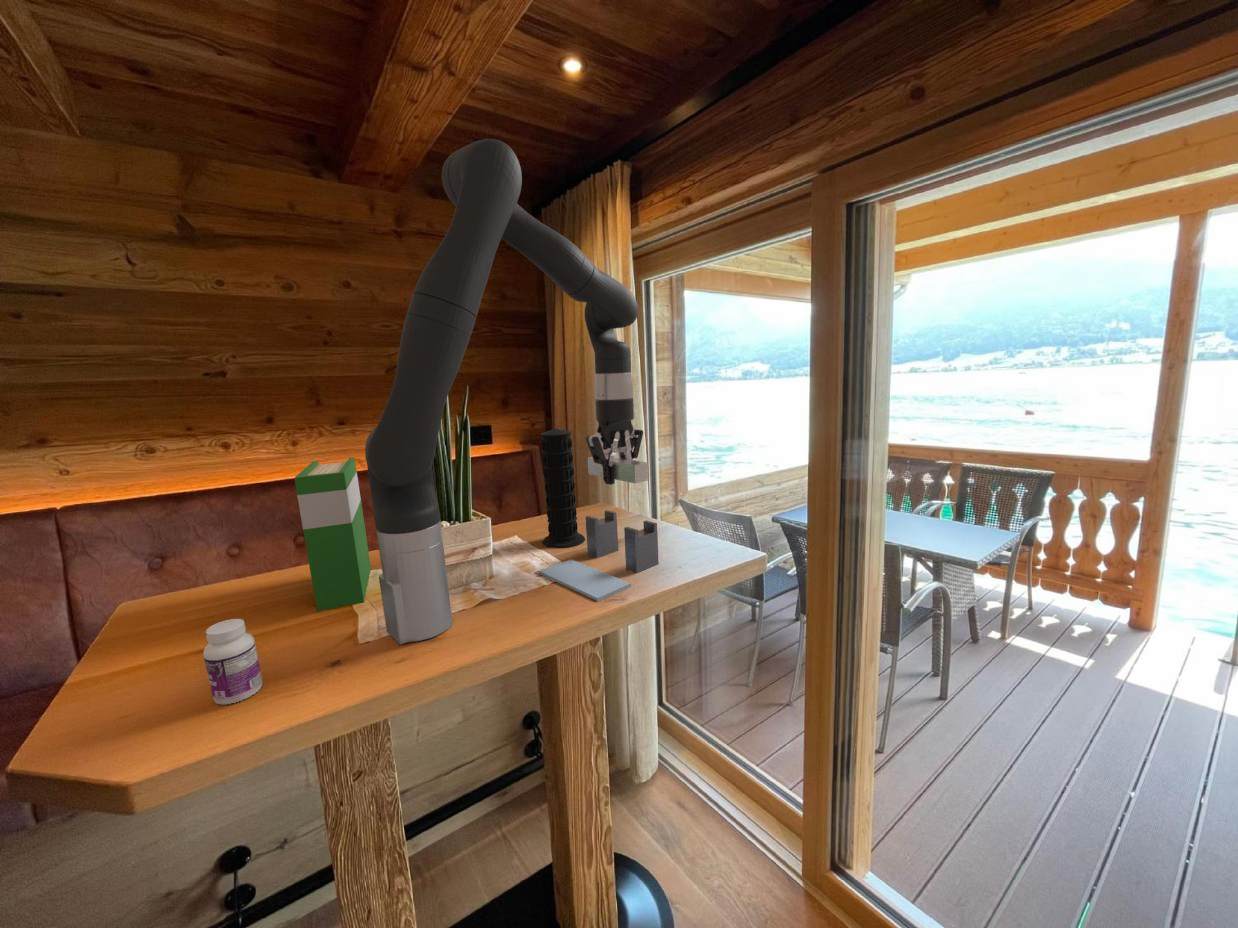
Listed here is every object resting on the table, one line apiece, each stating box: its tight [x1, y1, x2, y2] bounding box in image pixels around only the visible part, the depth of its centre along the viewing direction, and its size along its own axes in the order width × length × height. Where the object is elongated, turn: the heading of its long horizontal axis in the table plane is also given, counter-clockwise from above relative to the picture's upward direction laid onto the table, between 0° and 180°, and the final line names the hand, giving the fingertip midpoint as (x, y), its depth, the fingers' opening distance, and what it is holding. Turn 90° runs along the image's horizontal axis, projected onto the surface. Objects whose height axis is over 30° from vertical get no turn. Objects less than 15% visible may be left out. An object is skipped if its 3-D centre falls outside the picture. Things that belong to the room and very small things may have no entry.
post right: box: [623, 519, 659, 574], centre depth 102 cm, size 6×3×9 cm, turn 133°
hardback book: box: [294, 456, 372, 612], centre depth 97 cm, size 18×7×24 cm, turn 22°
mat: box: [538, 559, 632, 602], centre depth 98 cm, size 8×18×1 cm, turn 43°
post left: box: [585, 509, 619, 559], centre depth 111 cm, size 6×3×9 cm, turn 132°
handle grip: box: [540, 428, 586, 549], centre depth 118 cm, size 10×26×10 cm
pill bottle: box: [202, 618, 263, 706], centre depth 67 cm, size 5×5×10 cm
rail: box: [587, 456, 649, 484], centre depth 104 cm, size 4×14×4 cm, turn 43°
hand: (617, 481), depth 104 cm, fingers closed on rail, 3 cm apart
